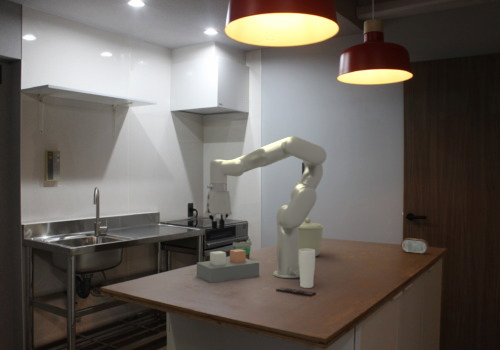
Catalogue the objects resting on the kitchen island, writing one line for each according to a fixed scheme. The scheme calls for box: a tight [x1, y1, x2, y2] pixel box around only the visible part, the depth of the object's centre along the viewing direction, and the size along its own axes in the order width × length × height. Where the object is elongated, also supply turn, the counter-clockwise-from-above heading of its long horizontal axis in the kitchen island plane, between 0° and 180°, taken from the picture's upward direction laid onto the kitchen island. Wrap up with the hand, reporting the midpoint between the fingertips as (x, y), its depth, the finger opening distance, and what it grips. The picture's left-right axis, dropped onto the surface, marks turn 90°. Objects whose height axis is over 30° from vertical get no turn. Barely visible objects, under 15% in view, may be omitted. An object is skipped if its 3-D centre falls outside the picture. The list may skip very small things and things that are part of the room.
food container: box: [232, 239, 252, 259], centre depth 233 cm, size 12×6×10 cm, turn 143°
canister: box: [298, 217, 325, 257], centre depth 247 cm, size 18×18×21 cm
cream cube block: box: [209, 250, 227, 266], centre depth 196 cm, size 5×5×6 cm
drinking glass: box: [298, 249, 316, 289], centre depth 181 cm, size 7×7×15 cm
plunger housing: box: [196, 258, 260, 284], centre depth 199 cm, size 14×24×6 cm, turn 121°
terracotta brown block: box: [229, 249, 246, 263], centre depth 201 cm, size 5×5×6 cm
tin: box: [400, 237, 430, 255], centre depth 257 cm, size 15×3×8 cm, turn 58°
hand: (218, 229), depth 196 cm, fingers open, 2 cm apart
